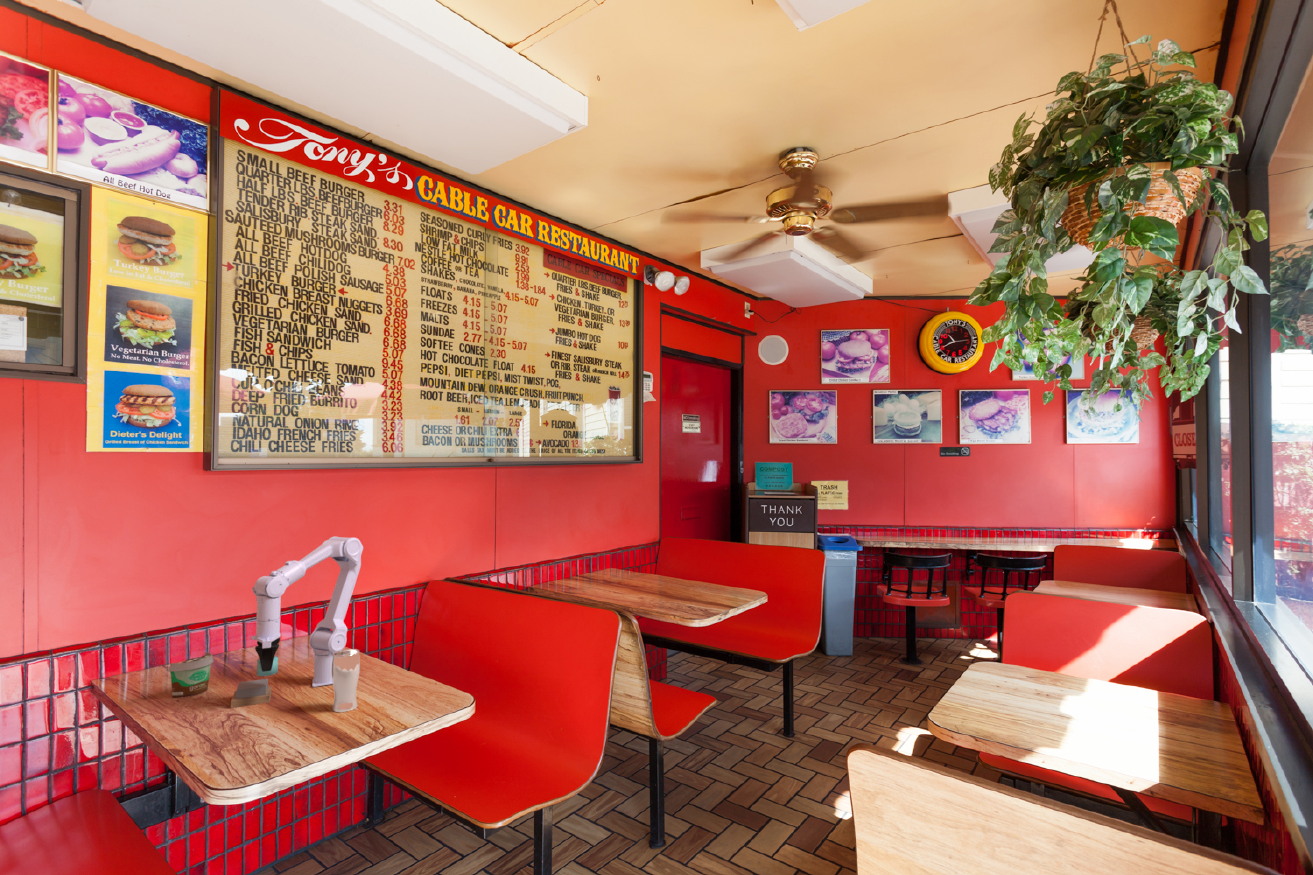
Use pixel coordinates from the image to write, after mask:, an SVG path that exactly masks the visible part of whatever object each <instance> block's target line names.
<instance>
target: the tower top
mask: <svg viewBox="0 0 1313 875" xmlns="http://www.w3.org/2000/svg"><path fill="white" fill-rule="evenodd" d="M237 685H238V686H237V687H236V690H235V691H236V699H241V698H247V697H254V696H261V695H266V693H267V689H268V686H269V678H262V679H256V680H255V679H254V680H246V681H240V682H239V683H238V684H237Z"/></svg>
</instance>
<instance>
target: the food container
mask: <svg viewBox="0 0 1313 875" xmlns="http://www.w3.org/2000/svg"><path fill="white" fill-rule="evenodd" d="M213 656H214V655H212V652H209V651H208V652H207V651H205V653H204V655H202V656H200V657H195V658H190V659H189V658H188V659H187V660H185V661H183V662H180V663H178V662H177V663H171V662H170V665H169V666H168V672H170V682H171V696H172V699H178V698H179V699H180V698H182V697H183V698H189V697H188V696H190V697H193V696H194V697H195V696H197V695H201V694H203V693H205V692H207V691H208V688H209V680H210V673H211V667H212V666H211V664H213V663H214V662H215V661H214V657H213Z"/></svg>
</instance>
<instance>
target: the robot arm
mask: <svg viewBox="0 0 1313 875" xmlns="http://www.w3.org/2000/svg"><path fill="white" fill-rule="evenodd" d="M363 550H364V546H363V544H362V542H361V540H360V539H359V538H357V537H344V536H343V537H341V536H340V537H339V536H332V537H330V538H328V539H327V540H324V541H323V542H322V544H321V545H319V546H318V547H317V548H315V549H313V550H312V551H311V552H310V553H308V554H307V555H305V556H304V557H302V558H301V559H300V560H288V561H286V562H284V565H283V566H281V567H279V568H278V569H276V570H272V571H271V572H270V573H269V575H263V576H261V577H259V578H258V579H257V580H256V581H255V583H254V586H253V587H252V588H251V589H252V593H253V595H255V597H256V628H255V630H256V631H255V632H256V634H255V635H253V636H250V639H251V640H252V641H254V640H255V641H256V644H257V645H256V646H254V649H255V652H256V653H257V656H258V657H259V658H258V659H260V663H261V669H262V672H265V671H271V669H272V665H273V660H274V656H276V653H277V651H278V648H280V644H279V643H280V641H281V635H282V633H281V610H282V609H281V607H282V606H281V600H282V598H281V597H282V595H284V594H285V593H286V589H287V588H288V587H290V586H291V585H293V584H294V583H296V582H297V581H299V580H300V579H302V578H303V577H304V576H305V575H306V571H307V570H309V569H311V568H312V567H314V566H315V565H317V564H319V563H321V562H323V561H324V560H326V559H327V558H331V559H333V560H334V561H335V562H336V563H337V564H338V566H339V568H340V570H339V574H338V575H337V576H338V577H337V579H336V582H335V585H334V589H333V591H332V594H331V598H330V600H329V604H328V607H327V610H326V613H325V615H324V618H323V619H322V620H320V621H319V622H318V623H317V624H316V627H315V629H314V631H312V633H311V634H310V637H309V640H308V642H309V646H310V648H311V649H312V651H313V653H314V660H313V661H314V662H313V666H314V667H313V669H314V670H313V678H312V685H311V686H312V688H314V687H315V688H316V687H321V686H322V687H323V686H329V685H333V682H332V658H333V653H334V652H337V651H340V650H344V648H345V647H346V644H347V633H348V631H349V630H348V627H347V626H346V624H345V622H344V620H345V618H346V615H347V611H348V608H349V604H350V602H351V598H352V596H353V591H354V589H355V586H356V583H357V579H358V576H359V573H360V570H361V567H362V557H361V556H362V553H363Z"/></svg>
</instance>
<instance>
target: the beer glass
mask: <svg viewBox="0 0 1313 875" xmlns="http://www.w3.org/2000/svg"><path fill="white" fill-rule="evenodd" d="M360 659H361V658H360V649H357V648H348V649H342V650H340V651H337V652H334V653H333V658H332V682H333V684H332V686H333V693H334V696H333V697H334V699H333V704H332V711H333V712H334V713H346V711H347V712H351V711H353V710H355V709H356V708H357V707H358V701H357V688H358V682H359V677H360V669H361V663H360V662H361V660H360ZM350 710H351V711H350Z"/></svg>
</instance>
